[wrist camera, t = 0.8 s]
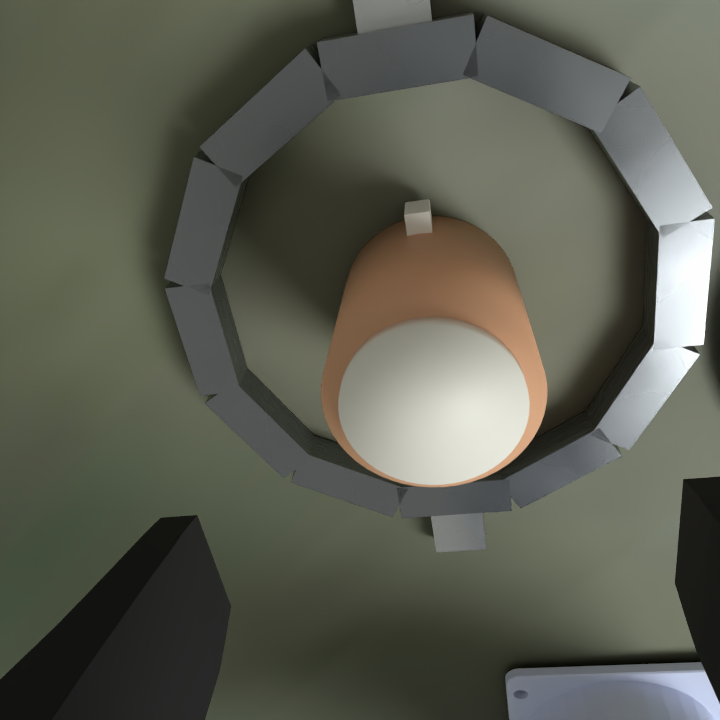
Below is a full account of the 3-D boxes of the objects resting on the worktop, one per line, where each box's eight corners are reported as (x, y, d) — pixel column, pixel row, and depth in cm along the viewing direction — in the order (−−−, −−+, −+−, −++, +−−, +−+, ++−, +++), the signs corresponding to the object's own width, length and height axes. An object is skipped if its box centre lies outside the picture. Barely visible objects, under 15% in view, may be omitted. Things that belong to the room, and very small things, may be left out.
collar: (675, 523, 21) (685, 547, 20) (264, 549, 23) (257, 572, 22) (725, -145, 13) (747, -154, 12) (85, -15, 15) (65, -15, 14)
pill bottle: (522, 379, 19) (554, 509, 15) (362, 394, 20) (343, 523, 15) (511, 183, 17) (545, 266, 12) (327, 209, 17) (291, 296, 13)
